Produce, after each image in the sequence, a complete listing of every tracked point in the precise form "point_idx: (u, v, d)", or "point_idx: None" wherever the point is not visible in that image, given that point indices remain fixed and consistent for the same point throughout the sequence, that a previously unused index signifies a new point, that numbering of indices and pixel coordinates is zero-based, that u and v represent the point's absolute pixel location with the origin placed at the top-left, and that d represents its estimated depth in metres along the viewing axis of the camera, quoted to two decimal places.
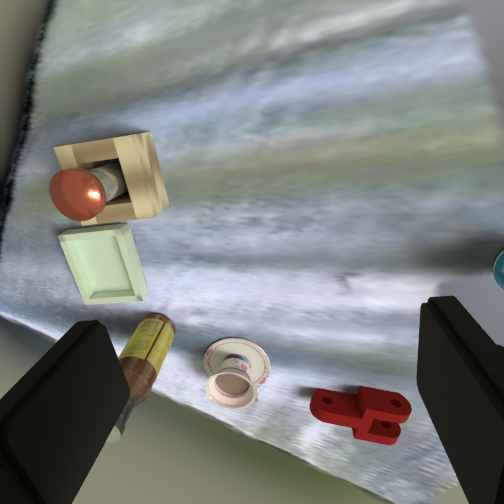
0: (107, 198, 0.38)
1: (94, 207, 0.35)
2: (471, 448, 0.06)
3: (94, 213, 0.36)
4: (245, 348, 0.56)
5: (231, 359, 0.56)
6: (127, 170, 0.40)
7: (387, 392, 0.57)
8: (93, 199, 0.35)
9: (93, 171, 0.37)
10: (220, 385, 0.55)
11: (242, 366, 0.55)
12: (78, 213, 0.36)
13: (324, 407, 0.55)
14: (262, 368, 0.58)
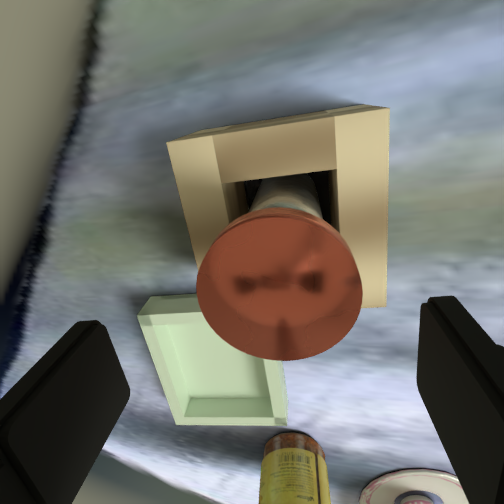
0: None
1: (331, 329, 0.11)
2: (471, 448, 0.06)
3: (325, 344, 0.12)
4: (442, 484, 0.32)
5: None
6: (352, 200, 0.16)
7: None
8: (336, 308, 0.11)
9: None
10: None
11: None
12: (273, 341, 0.12)
13: None
14: None
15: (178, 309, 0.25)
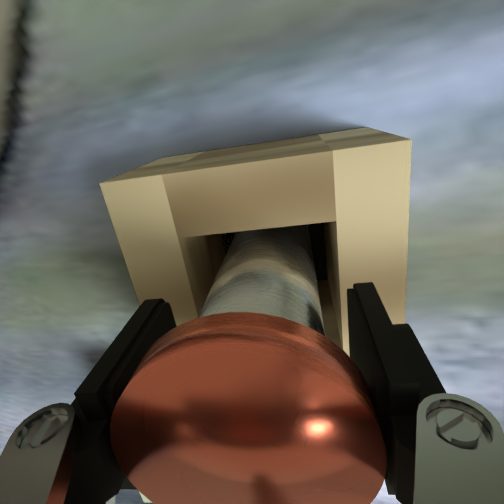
0: None
1: None
2: None
3: None
4: None
5: None
6: (357, 262, 0.11)
7: None
8: (341, 481, 0.07)
9: (272, 289, 0.09)
10: None
11: None
12: None
13: None
14: None
15: None
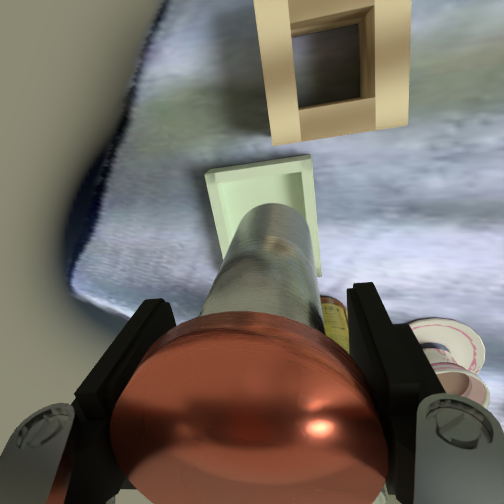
0: None
1: None
2: None
3: None
4: (450, 334, 0.38)
5: (431, 349, 0.38)
6: (384, 31, 0.22)
7: None
8: (343, 481, 0.07)
9: (273, 288, 0.09)
10: None
11: (454, 361, 0.37)
12: None
13: None
14: (467, 363, 0.40)
15: (237, 168, 0.31)
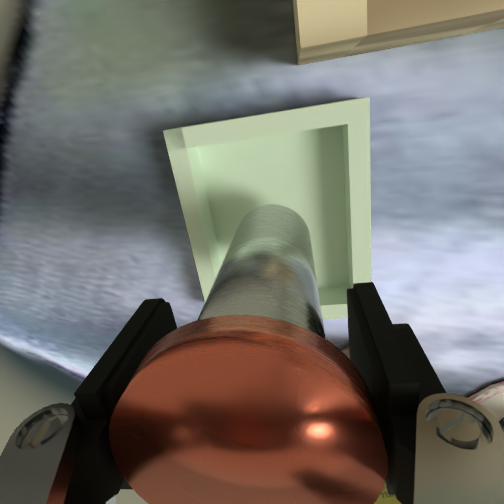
0: None
1: None
2: None
3: None
4: None
5: None
6: None
7: None
8: (342, 485, 0.07)
9: (272, 291, 0.09)
10: None
11: None
12: None
13: None
14: None
15: (225, 120, 0.16)
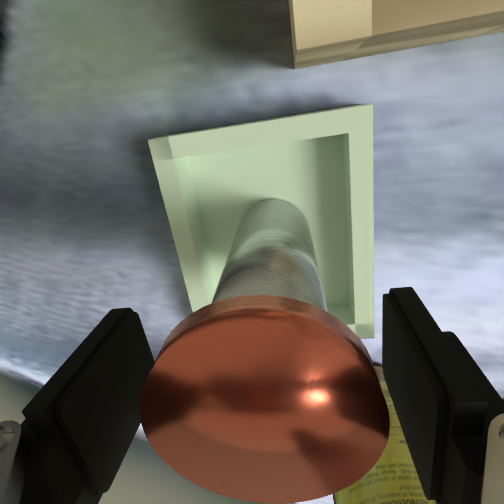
0: None
1: (342, 469, 0.08)
2: (417, 423, 0.07)
3: (333, 486, 0.08)
4: None
5: None
6: None
7: None
8: (349, 444, 0.07)
9: (281, 276, 0.10)
10: None
11: None
12: (257, 481, 0.08)
13: None
14: None
15: (215, 128, 0.15)
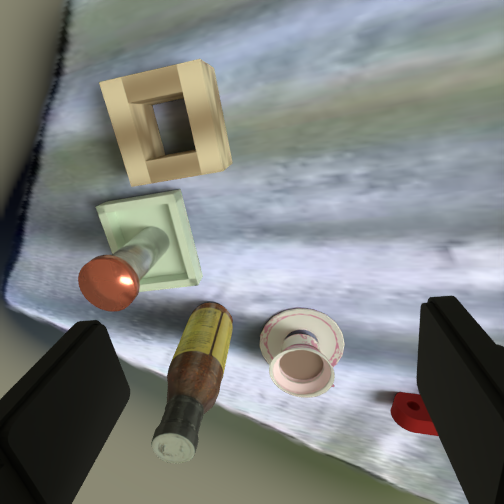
0: (139, 280, 0.35)
1: (127, 297, 0.32)
2: (472, 448, 0.06)
3: (127, 303, 0.32)
4: (313, 321, 0.46)
5: (296, 335, 0.45)
6: (193, 108, 0.31)
7: None
8: (126, 289, 0.31)
9: (123, 253, 0.34)
10: (285, 368, 0.44)
11: (312, 343, 0.44)
12: (109, 303, 0.32)
13: (412, 414, 0.45)
14: (333, 347, 0.47)
15: (121, 201, 0.40)
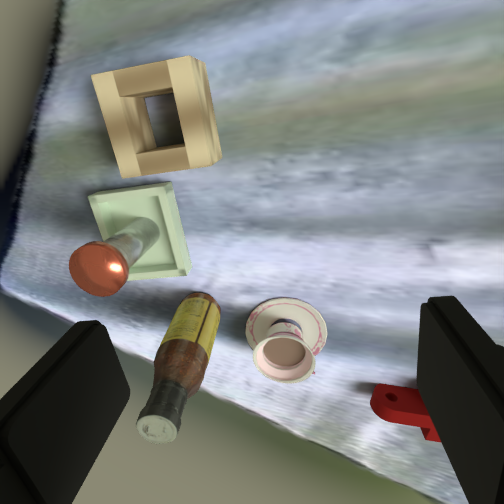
0: (128, 268, 0.36)
1: (116, 283, 0.33)
2: (471, 448, 0.06)
3: (116, 289, 0.33)
4: (297, 311, 0.47)
5: (281, 323, 0.47)
6: (182, 103, 0.32)
7: None
8: (115, 275, 0.33)
9: (114, 240, 0.35)
10: (268, 354, 0.46)
11: (296, 332, 0.45)
12: (99, 288, 0.33)
13: (390, 405, 0.47)
14: (316, 336, 0.48)
15: (113, 192, 0.40)
